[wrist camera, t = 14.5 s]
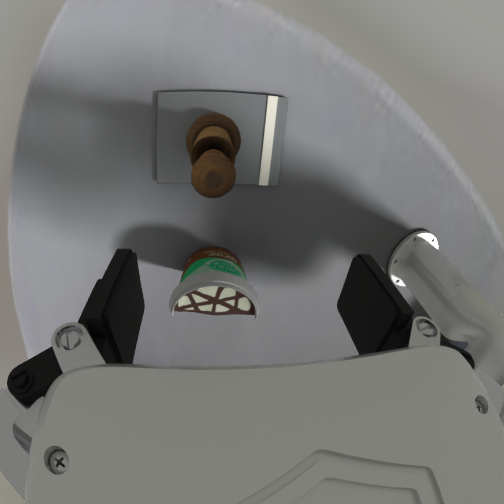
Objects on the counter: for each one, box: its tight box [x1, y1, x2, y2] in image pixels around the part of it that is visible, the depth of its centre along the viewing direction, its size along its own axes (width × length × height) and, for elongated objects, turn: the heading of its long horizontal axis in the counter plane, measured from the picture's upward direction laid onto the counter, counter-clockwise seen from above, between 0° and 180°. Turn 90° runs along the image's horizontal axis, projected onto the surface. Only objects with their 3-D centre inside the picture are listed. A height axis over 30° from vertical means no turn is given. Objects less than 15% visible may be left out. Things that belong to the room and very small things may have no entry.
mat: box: [157, 91, 289, 186], centre depth 32 cm, size 16×12×1 cm
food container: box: [169, 247, 259, 320], centre depth 38 cm, size 12×6×10 cm, turn 80°
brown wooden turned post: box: [186, 113, 241, 198], centre depth 24 cm, size 7×6×18 cm
